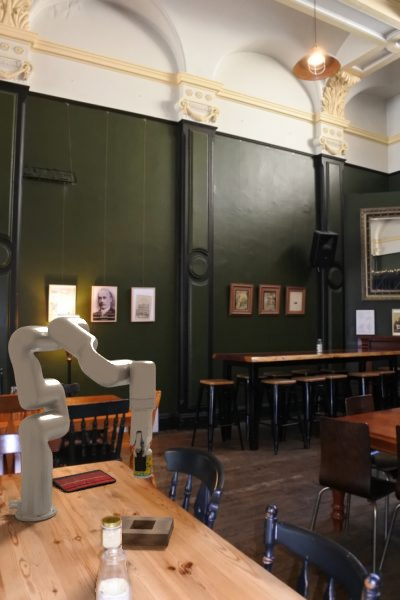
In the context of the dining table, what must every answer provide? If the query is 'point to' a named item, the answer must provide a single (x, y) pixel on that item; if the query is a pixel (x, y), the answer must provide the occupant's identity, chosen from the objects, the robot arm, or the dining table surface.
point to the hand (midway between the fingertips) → (142, 467)
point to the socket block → (146, 530)
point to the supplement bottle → (148, 464)
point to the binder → (83, 481)
